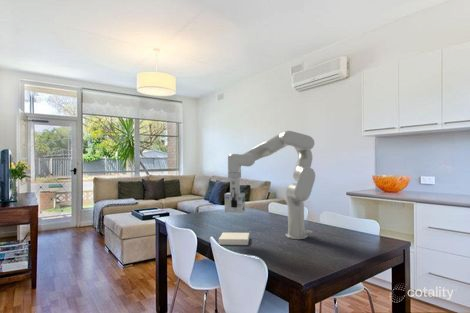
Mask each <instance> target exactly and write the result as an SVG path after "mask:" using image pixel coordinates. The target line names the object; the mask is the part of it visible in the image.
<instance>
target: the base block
mask: <svg viewBox="0 0 470 313" xmlns="http://www.w3.org/2000/svg"><path fill="white" fill-rule="evenodd" d="M249 240H250V232H222V233H221V235H220V236H219V237H218V245H219V244H220V245H224V246H225V245H226V246H227V245H228V246H229V245H230V246H248V245H249Z"/></svg>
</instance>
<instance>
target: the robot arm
mask: <svg viewBox="0 0 470 313" xmlns="http://www.w3.org/2000/svg"><path fill="white" fill-rule="evenodd" d="M287 146H291V147H293V148H294V149H295V151H296V152H297V161H296V163H295V164H296V165H295V167H294V170H293V173H292V175H293V176H292V177H293V179H294V181H296V182H297V183H291V184H289V185H288V186H287V188H286V189H285V190H286V191H285V194H286V201H287V202H286V203H287V229H288V230H287V232H286V233H285V237H286V238H287V239H291V240H303V239H307V238H308V235H313V234H314V232H313V230H310V229H306V228H305V205H304V202H306V201H307V200H308V199H309V198H310V196H311V193H312V191H313V187H314V184H315V180H316V171H315V170H314V169H313V168H312V164H313V153H312V149H313V148H314V146H315V139H314V138H313V137H312V136H310V135H307V134H305V133H300V132H297V131H293V130H284V131H282V132H280V133H278V134H276V135H274V136H273V137H271V138H269V139H267V140H266V141H264V142H262V143H260V144H258V145H256V146H255V147H252V148H251V149H249V150H247V151H246V152H244V153H241V154H239V153H229V154H227V155H228V156H227V178H228V179H229V193H230V195H231V207H234V208H236V207H237V200H236V195H235V194H237V195H239V193H241V183H240V179H242V167H252V166H253V165H255V163H256V161H258V160H260V159H262V158H266V157H269V156H271V155H273V154H274V153H277V152H278V151H280V150H282V149H284V148H286V147H287ZM231 193H232V194H231Z"/></svg>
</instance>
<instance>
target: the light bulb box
mask: <svg viewBox="0 0 470 313" xmlns="http://www.w3.org/2000/svg"><path fill="white" fill-rule="evenodd" d="M231 194H232V193H231ZM235 195H236V200H237V207H236V208H234V207H231V195H230V192H226V193H224V213H230V214H243V213H245V212H246V199H245V198H246V196H245V195H246V192H240V193H239V195H237V194H235Z"/></svg>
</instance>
